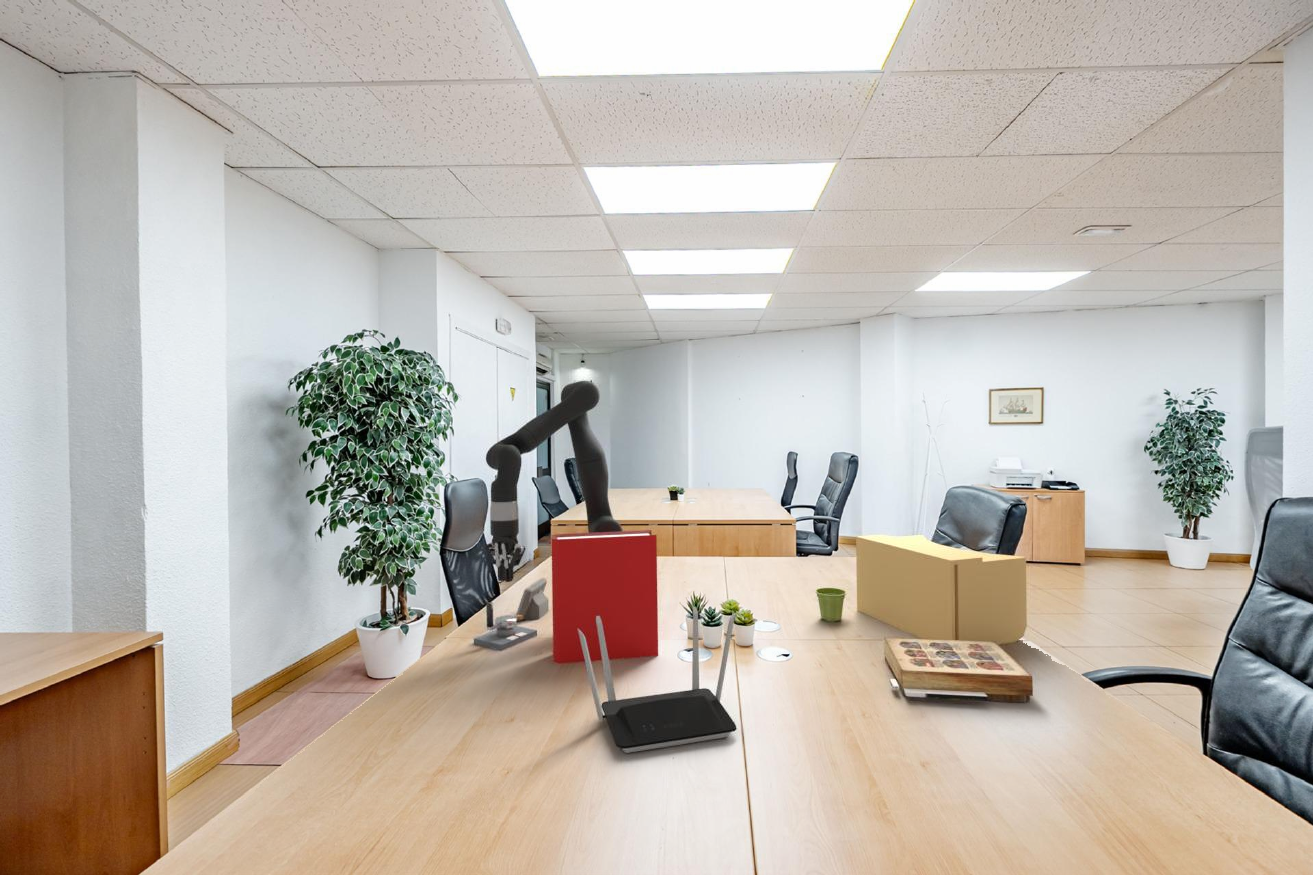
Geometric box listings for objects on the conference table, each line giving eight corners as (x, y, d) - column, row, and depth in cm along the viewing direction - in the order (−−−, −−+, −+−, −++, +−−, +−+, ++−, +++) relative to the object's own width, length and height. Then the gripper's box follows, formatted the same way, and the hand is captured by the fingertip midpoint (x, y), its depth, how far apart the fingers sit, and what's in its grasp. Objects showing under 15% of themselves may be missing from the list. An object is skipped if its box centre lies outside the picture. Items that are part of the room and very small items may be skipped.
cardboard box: (857, 610, 196) (856, 536, 196) (921, 602, 204) (920, 531, 204) (952, 652, 158) (950, 560, 158) (1026, 640, 166) (1025, 553, 166)
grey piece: (528, 621, 176) (528, 594, 176) (495, 634, 165) (494, 605, 165) (513, 618, 179) (513, 591, 179) (480, 630, 168) (479, 602, 168)
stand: (537, 635, 176) (536, 622, 176) (501, 650, 164) (501, 636, 164) (509, 629, 182) (509, 617, 182) (473, 643, 170) (473, 630, 170)
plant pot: (814, 622, 184) (814, 594, 184) (816, 613, 193) (815, 586, 193) (846, 624, 182) (846, 596, 182) (846, 615, 191) (846, 588, 191)
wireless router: (589, 763, 107) (588, 651, 107) (572, 707, 129) (571, 614, 129) (763, 735, 116) (761, 632, 116) (719, 687, 138) (717, 600, 138)
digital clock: (534, 606, 205) (534, 575, 205) (557, 609, 202) (557, 577, 202) (506, 621, 190) (506, 587, 190) (531, 623, 187) (530, 589, 187)
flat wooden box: (896, 704, 130) (1039, 712, 124) (895, 675, 130) (1038, 681, 124) (876, 662, 154) (995, 667, 149) (875, 637, 154) (994, 641, 149)
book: (652, 645, 166) (651, 530, 166) (658, 655, 158) (656, 534, 158) (553, 653, 161) (551, 534, 161) (553, 664, 154) (551, 539, 153)
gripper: (532, 517, 163) (533, 580, 164) (496, 514, 171) (497, 575, 171) (513, 521, 157) (514, 587, 157) (476, 517, 164) (477, 580, 164)
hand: (505, 580), depth 164 cm, fingers closed
